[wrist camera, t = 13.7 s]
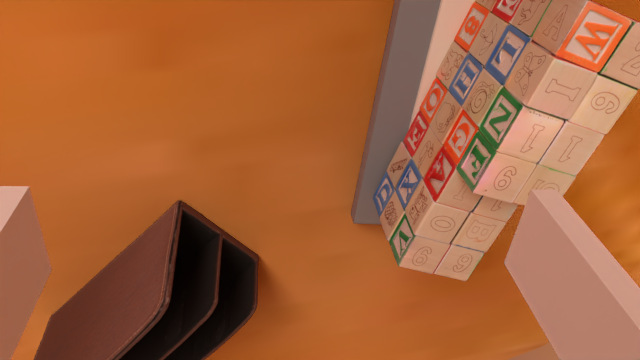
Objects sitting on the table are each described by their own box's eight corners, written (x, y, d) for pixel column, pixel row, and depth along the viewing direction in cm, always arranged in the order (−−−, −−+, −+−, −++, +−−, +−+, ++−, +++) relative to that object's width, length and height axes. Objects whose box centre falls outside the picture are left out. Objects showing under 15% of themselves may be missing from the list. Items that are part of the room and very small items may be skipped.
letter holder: (50, 314, 52) (-9, 450, 41) (179, 196, 47) (156, 314, 35) (132, 356, 57) (101, 489, 45) (260, 253, 51) (263, 375, 39)
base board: (416, -107, 36) (424, -105, 34) (587, -80, 38) (601, -77, 36) (350, 213, 50) (354, 225, 48) (478, 219, 52) (485, 230, 50)
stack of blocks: (430, 213, 48) (479, 312, 38) (370, 196, 47) (404, 296, 36) (565, -12, 38) (681, 40, 28) (495, -44, 37) (592, -1, 26)
